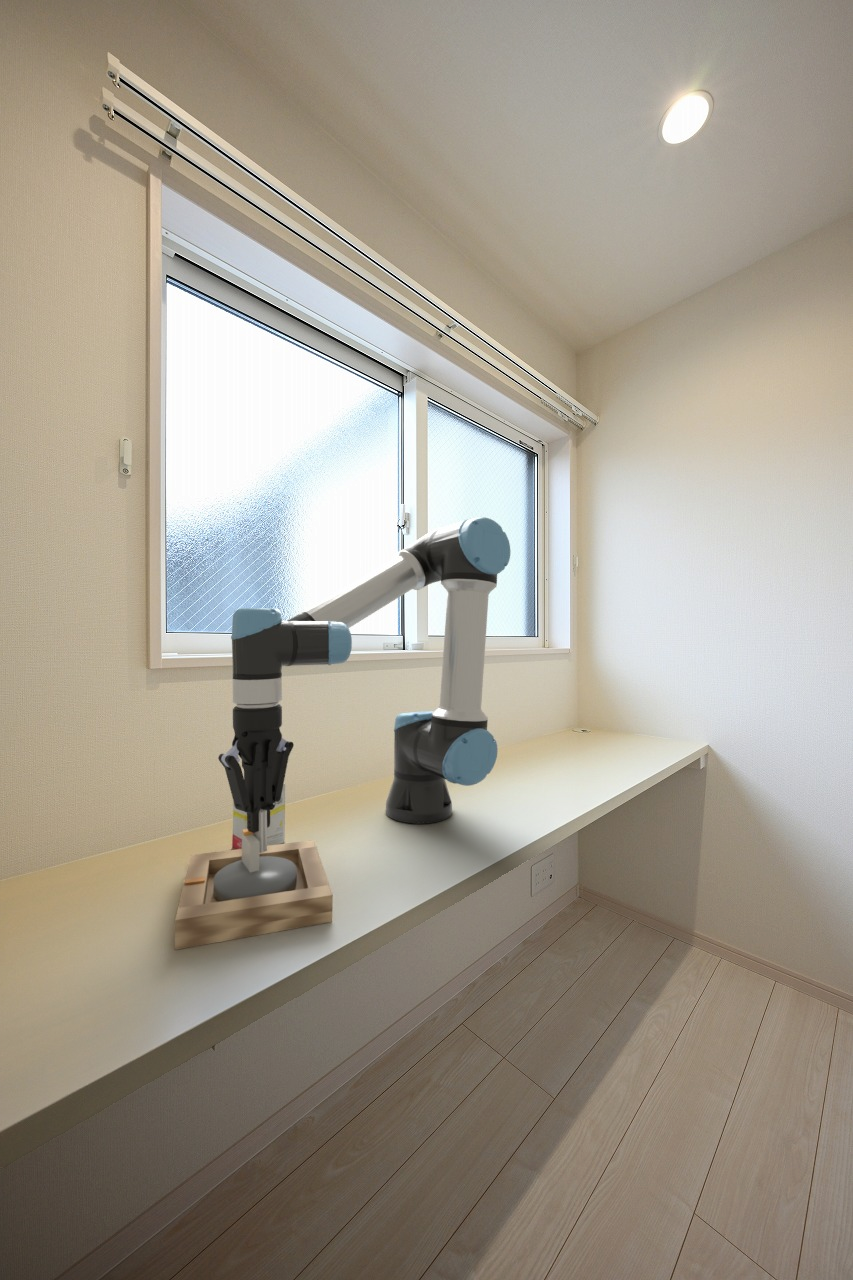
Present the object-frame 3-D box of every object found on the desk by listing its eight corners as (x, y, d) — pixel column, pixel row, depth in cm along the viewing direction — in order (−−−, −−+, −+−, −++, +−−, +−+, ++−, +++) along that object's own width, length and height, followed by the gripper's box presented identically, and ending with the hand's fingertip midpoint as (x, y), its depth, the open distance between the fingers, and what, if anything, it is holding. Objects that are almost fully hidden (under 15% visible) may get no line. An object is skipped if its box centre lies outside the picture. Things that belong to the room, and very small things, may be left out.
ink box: (243, 856, 91) (244, 791, 91) (231, 848, 95) (232, 785, 95) (285, 842, 98) (286, 782, 98) (272, 835, 101) (273, 776, 101)
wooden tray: (313, 861, 90) (314, 838, 90) (332, 921, 71) (332, 892, 71) (190, 878, 83) (190, 853, 83) (174, 949, 64) (175, 917, 64)
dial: (308, 892, 76) (308, 845, 76) (224, 916, 69) (224, 865, 69) (281, 862, 85) (282, 820, 85) (205, 880, 79) (206, 835, 79)
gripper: (274, 698, 89) (275, 831, 89) (207, 707, 78) (209, 858, 79) (303, 701, 84) (304, 841, 85) (237, 711, 74) (238, 871, 74)
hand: (258, 849), depth 82 cm, fingers closed
